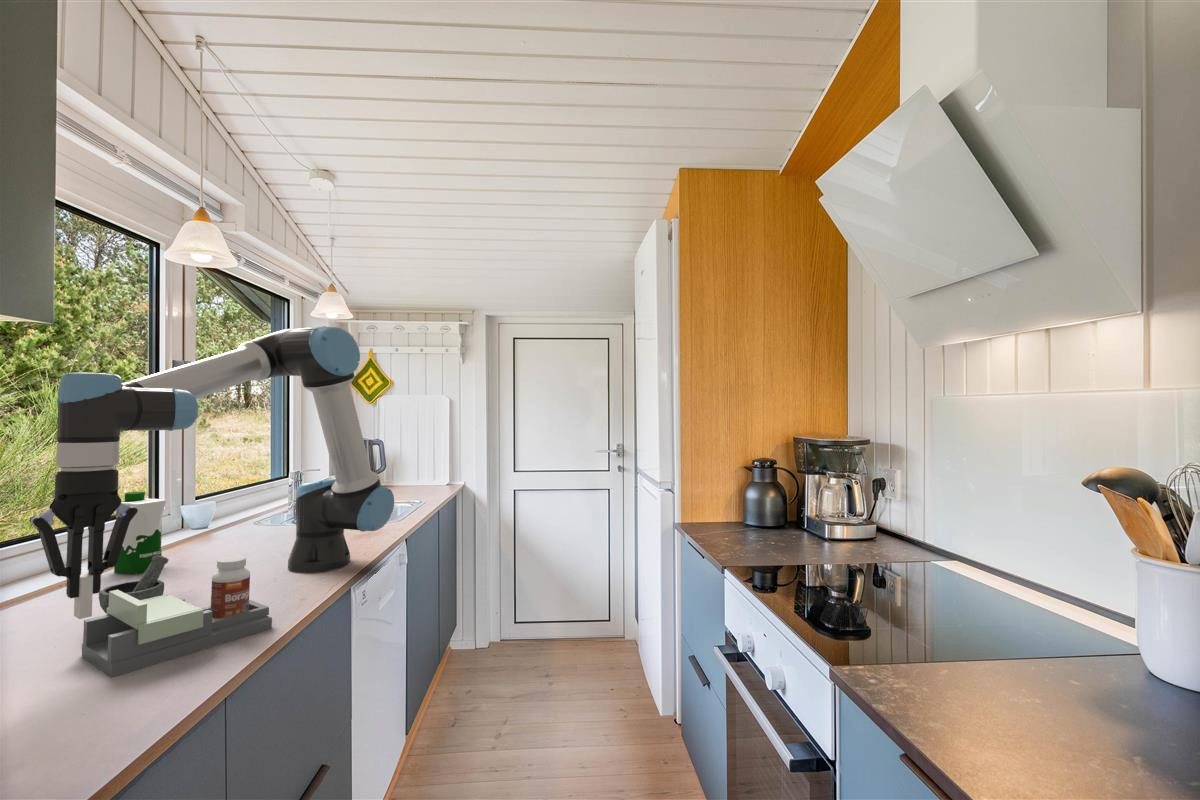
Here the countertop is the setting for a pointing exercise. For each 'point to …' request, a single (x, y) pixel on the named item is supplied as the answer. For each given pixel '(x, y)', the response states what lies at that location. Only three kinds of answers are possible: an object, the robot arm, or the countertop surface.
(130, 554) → the milk carton
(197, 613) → the cover
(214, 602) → the pill bottle
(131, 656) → the housing base
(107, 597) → the mortar and pestle
